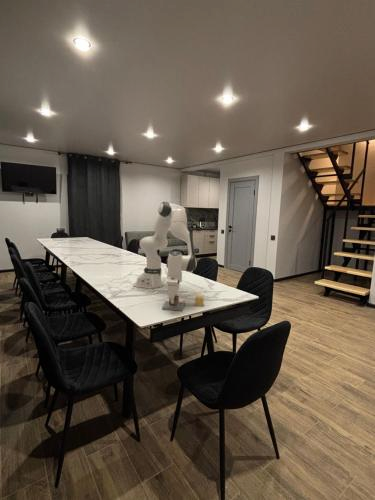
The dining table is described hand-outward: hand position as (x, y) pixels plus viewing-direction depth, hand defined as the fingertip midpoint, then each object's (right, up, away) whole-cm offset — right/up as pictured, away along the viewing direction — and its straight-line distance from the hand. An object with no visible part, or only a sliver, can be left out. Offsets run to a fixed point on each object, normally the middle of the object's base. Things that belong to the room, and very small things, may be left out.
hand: (173, 300), depth 162 cm
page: (0, -2, +12) cm, 13 cm away
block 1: (0, -3, 0) cm, 3 cm away
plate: (0, -4, 0) cm, 4 cm away
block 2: (+16, -4, +7) cm, 18 cm away
